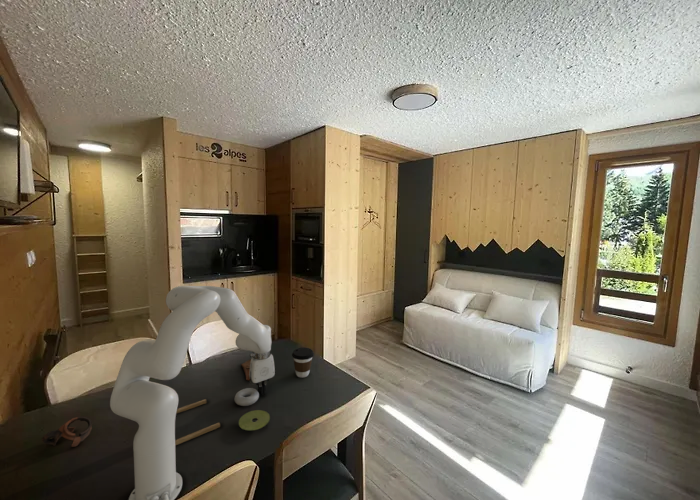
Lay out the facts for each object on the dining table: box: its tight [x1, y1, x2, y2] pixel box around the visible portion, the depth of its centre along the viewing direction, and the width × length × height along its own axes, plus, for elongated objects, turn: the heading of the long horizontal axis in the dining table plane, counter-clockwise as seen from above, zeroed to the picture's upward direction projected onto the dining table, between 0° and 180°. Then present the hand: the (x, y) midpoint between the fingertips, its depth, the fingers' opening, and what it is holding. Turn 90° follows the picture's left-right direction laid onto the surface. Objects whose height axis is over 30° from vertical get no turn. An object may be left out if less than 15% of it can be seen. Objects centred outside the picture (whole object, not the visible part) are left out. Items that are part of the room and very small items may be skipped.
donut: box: [234, 387, 260, 407], centre depth 124 cm, size 10×4×10 cm
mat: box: [238, 409, 271, 431], centre depth 110 cm, size 11×11×2 cm
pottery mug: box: [41, 416, 93, 448], centre depth 98 cm, size 12×10×8 cm
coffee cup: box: [291, 347, 315, 378], centre depth 146 cm, size 11×11×12 cm
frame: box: [175, 398, 221, 447], centre depth 109 cm, size 19×17×1 cm
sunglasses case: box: [240, 358, 251, 381], centre depth 148 cm, size 18×7×7 cm
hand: (261, 393), depth 129 cm, fingers closed
